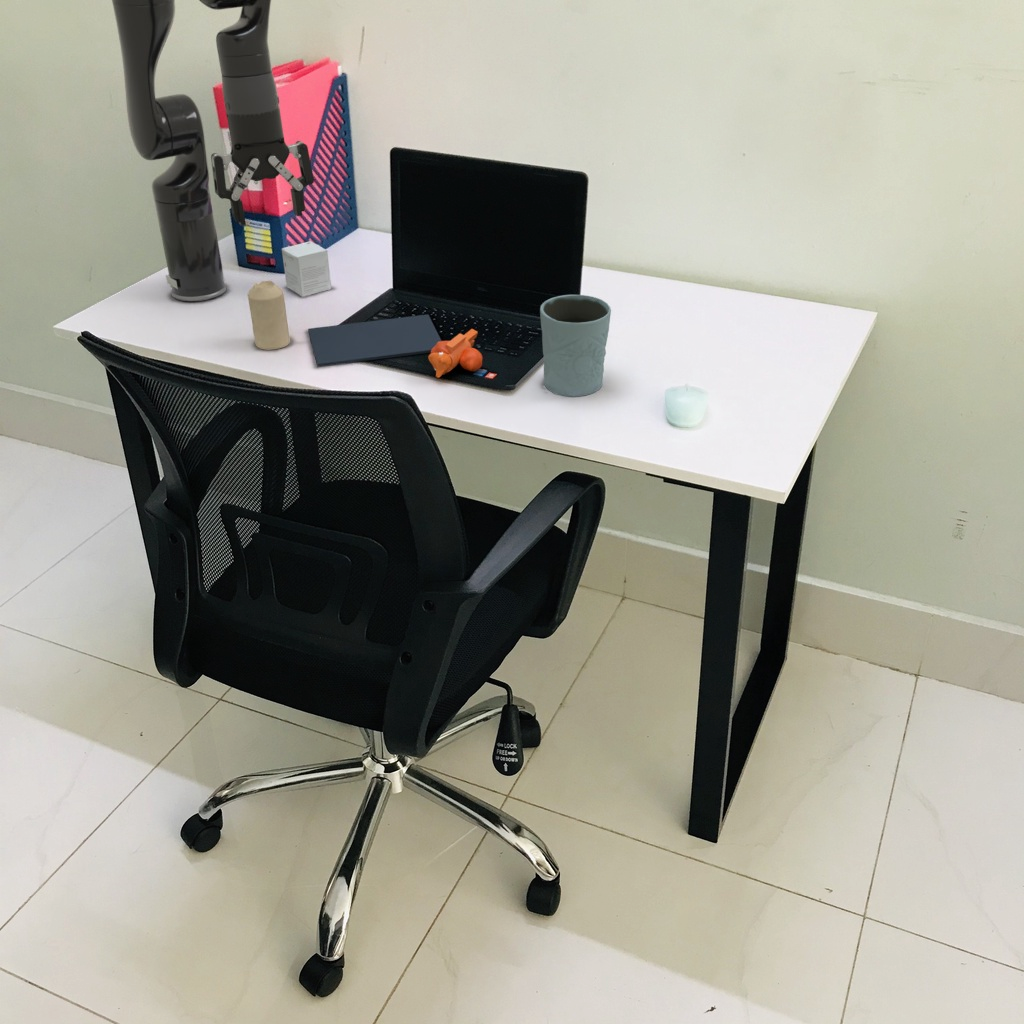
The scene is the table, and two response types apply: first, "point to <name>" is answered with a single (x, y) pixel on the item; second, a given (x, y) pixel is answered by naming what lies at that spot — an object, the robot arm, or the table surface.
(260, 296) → the candle
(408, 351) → the desk mat
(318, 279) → the product box
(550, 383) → the grey green cup
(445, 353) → the orange toy bird
